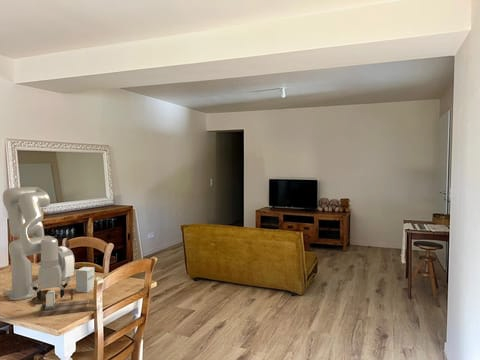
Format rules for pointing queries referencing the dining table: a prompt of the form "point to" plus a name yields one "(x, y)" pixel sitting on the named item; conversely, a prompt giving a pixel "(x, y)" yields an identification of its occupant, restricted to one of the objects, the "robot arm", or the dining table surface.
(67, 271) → the alarm clock
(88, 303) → the fader panel
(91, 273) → the supplement box
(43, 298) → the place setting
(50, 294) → the fader knob
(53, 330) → the dining table surface
